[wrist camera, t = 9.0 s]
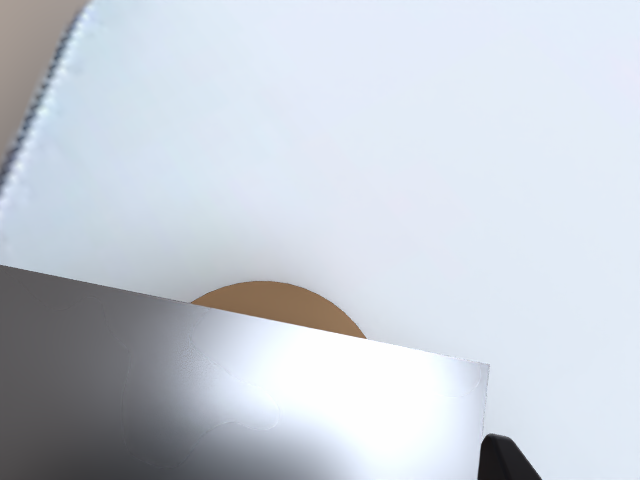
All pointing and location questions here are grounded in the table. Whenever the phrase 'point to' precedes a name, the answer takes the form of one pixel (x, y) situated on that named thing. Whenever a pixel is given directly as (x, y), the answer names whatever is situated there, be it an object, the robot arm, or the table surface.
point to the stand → (281, 306)
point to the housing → (217, 394)
